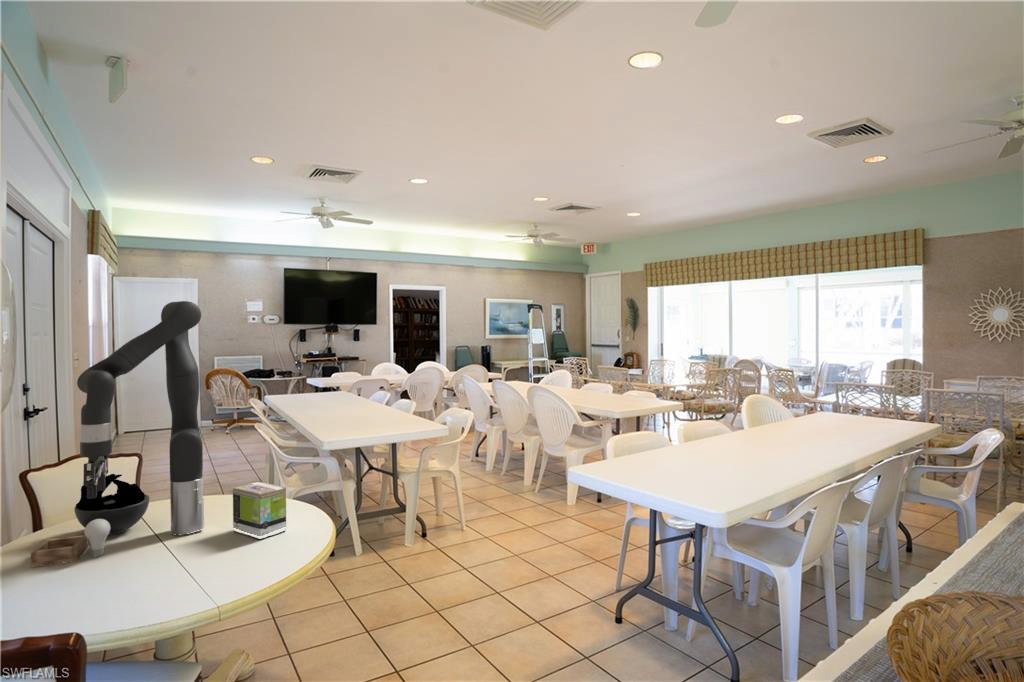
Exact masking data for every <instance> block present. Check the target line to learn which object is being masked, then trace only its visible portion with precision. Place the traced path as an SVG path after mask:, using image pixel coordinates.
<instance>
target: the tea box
mask: <svg viewBox="0 0 1024 682" xmlns="http://www.w3.org/2000/svg"><path fill="white" fill-rule="evenodd" d="M232 526H233V527H232V529H233V528H236V529H239V530H241V531H244V532H247V533H250V534H254V535H257V536H263V535H265V534H268V533H270V532H273V531H275V530H278V529H281V528H283V527H286V528H287V488H286V487H285V486H282V485H281V486H280V485H277V484H271V483H267V482H261V481H257V482H253V483H248V484H244V485H240V486H235V487H233V488H232Z"/></svg>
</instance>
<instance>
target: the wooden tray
mask: <svg viewBox="0 0 1024 682" xmlns="http://www.w3.org/2000/svg"><path fill="white" fill-rule="evenodd" d="M88 542H89V540H88V539H87V537H86V536H85V534H84V535H77V536H67V537H66V536H65V537H60V538H59V537H58V538H52V539H51V538H50V539H44V540H43V541H42V542H41V543H40V544H38V546H36V547H35V549H33V550H32V551H31V552H30V559H31V560H30V561H31V562H30V563H29V568H34V567H35V568H37V567H44V565H45V566H49V565H50V564H52V565H59V564H58V563H60V564H64V563H63V562H68V563H72V562H71V561H75V562H79V560H80V559H81V558H82V557H83V555H84V554H85V553H86V552H87V551H88V550H89V549H90V544H88ZM87 549H88V550H87ZM86 550H87V551H86ZM81 556H82V557H81ZM36 566H37V567H36Z"/></svg>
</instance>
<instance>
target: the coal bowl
mask: <svg viewBox="0 0 1024 682" xmlns="http://www.w3.org/2000/svg"><path fill="white" fill-rule="evenodd" d="M122 476H123V474H115V473H111V474H109V475H107V476H106V477H104V478H105V490H104V491H97V497H96V498H93V499H87V486H86V485H84V484H83V485H81V486H80V499H79V501H78V503H76V504H75V507H74V514H75V518H76V519H77V522H79V524H80V525H81V526H82V527H83V528H84V529H85V528H86V526H87V525H88V523H90V522H91V521H93V520H95V519H104V520H106V521H108V522H109V524H110V527H111V529H110V532H109V534H108V535H113V534H118V533H122V532H123V531H126V530H128V529H130V528H132V527H133V526H134V525H136V524H137V523H138V522H139V521H140V520H141V519H142V518H143V517H144V515H145V513H146V512H147V510H148V507H149V505H150V496H149V494H145V492H144V491H143V490H142V489H141V488H140V486H139V485H138V484H137V483H131V484H130V483H129V482H126V481H123V480H120V479H118V478H120V477H122ZM90 480H92V478H91V479H90ZM111 484H113V485H116V492H115V493H114V494H108V495H104V496H103V493H104V492H105V491H106V490H107V488H108V487H109V486H110V485H111Z"/></svg>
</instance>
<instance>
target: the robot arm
mask: <svg viewBox="0 0 1024 682" xmlns="http://www.w3.org/2000/svg"><path fill="white" fill-rule="evenodd" d="M201 318H202V311H201V309H200V307H199V306H198V305H197V304H196V303H195V302H192V301H187V300H185V301H184V300H181V301H180V300H179V301H172V302H168V303H167V304H165V305H164V306H163V308H162V310H161V313H160V320H161V321H160V322H158V323H157V324H156V325H155V326H153V327H152V328H150V329H148V330H146V331H145V332H143V333H142V334H140V335H137V336H136V337H134V338H132V339H131V340H129V341H127V342H126V343H125V344H123V345H122V346H120V347H119V348H118V349H115V351H113V352H112V353H111V354H109V356H108V357H106V358H104V359H101V360H100V361H98V362H97V363H95V364H93V365H92V366H90V367H88V368H87V369H85V370H84V371H83V372H81V374H79V376H78V378H77V381H76V384H77V385H76V386H77V388H78V389H79V391H81V392H82V393H84V394H86V399H85V404H83V405H82V407H81V409H80V428H79V429H80V431H79V455H80V457H82V458H87V462H86V463H84V464H83V483H82V484H83V485H86V486H87V499H93V498H96V497H97V491H104V490H105V491H106V489H105V478H104V477H106V476H108V475H107V474H109V458H108V457H109V455H111V454H112V452H113V428H112V409H111V407H112V403H113V400H114V395H115V392H116V391H115V389H116V382H115V379H117V378H118V377H120V376H122V375H126V374H128V373H130V372H131V371H132V370H134V369H135V368H137V366H138V365H140V364H142V362H144V361H145V360H147V359H148V358H149V357H150V356H151V355H153V354H154V353H155V352H157V351H158V350H159V349H161V348H163V346H165V347H164V349H165V350H164V351H165V367H166V368H165V371H166V373H165V374H166V375H165V378H166V380H165V381H166V391H167V397H168V398H167V399H168V404H169V408H170V412H171V431H170V439H169V489H170V490H169V494H170V497H169V498H170V499H169V500H170V534H171V533H172V534H176V535H175V536H180V535H179V534H187V533H191V532H194V531H197V530H200V529H202V528H203V529H204V527H203V525H204V526H205V509H204V508H205V504H204V503H205V502H204V501H205V499H204V497H203V496H204V492H203V490H204V488H203V469H204V463H203V462H204V458H203V456H204V455H203V453H204V452H203V449H204V448H203V439H202V436H201V434H200V433H201V432H200V427H199V421H198V404H199V395H200V375H199V374H200V373H199V367H198V364H197V360H196V359H195V357H194V354H193V352H192V349H191V347H190V341H189V330H191V329H192V328H193V329H194V328H195V327H196V326H197V325H198V324H199V323H200V321H201ZM90 479H92V480H90ZM105 491H104V492H105ZM172 534H171V535H172Z"/></svg>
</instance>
